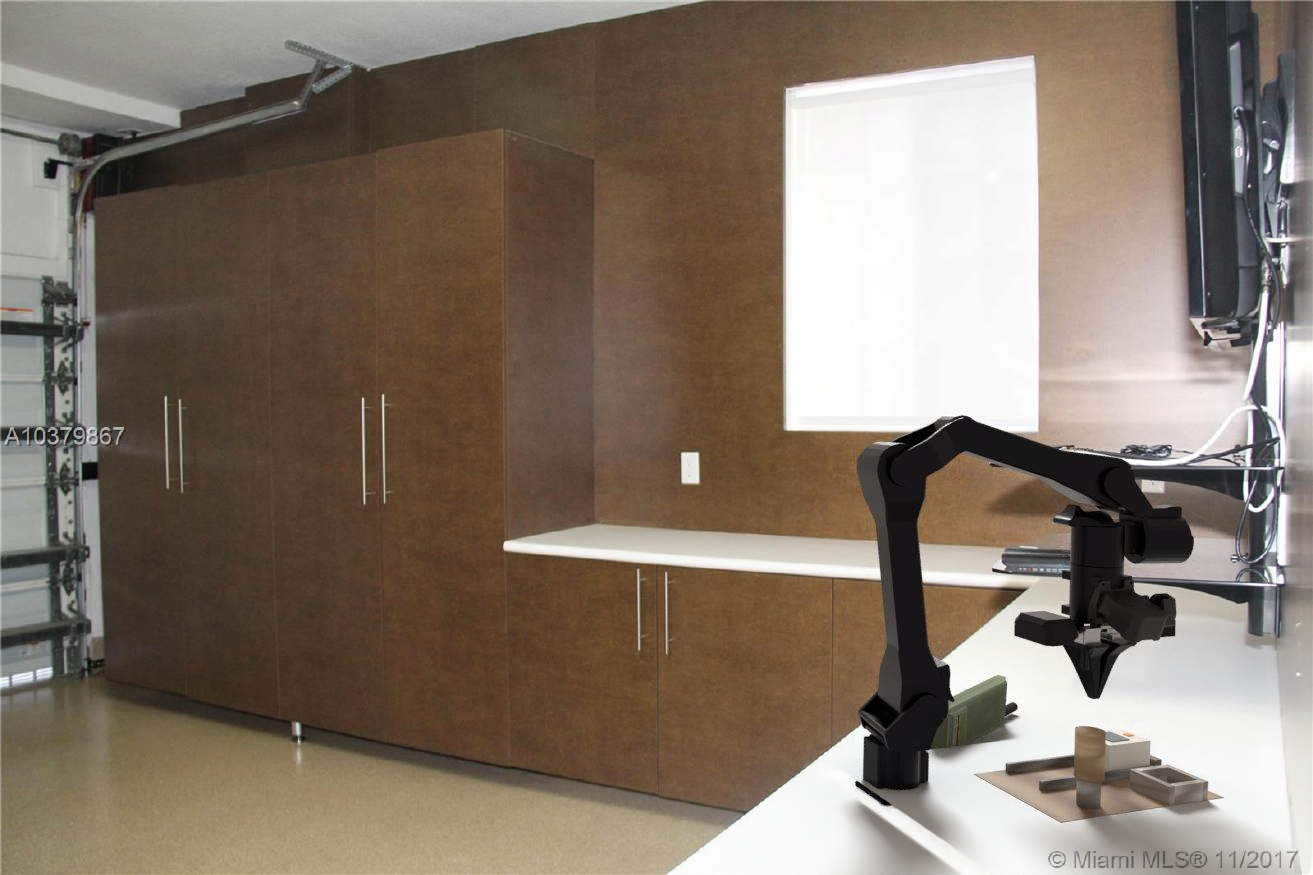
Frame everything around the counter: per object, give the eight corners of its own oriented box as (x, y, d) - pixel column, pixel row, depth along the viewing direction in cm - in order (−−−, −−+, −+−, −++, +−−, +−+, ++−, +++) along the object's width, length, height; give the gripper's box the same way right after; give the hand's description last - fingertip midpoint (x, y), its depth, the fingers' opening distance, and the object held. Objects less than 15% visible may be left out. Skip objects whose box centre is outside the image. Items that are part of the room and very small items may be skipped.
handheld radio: (923, 756, 125) (1001, 712, 144) (947, 763, 123) (1023, 718, 142) (926, 704, 125) (1004, 666, 144) (951, 710, 123) (1027, 672, 142)
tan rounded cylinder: (1087, 812, 104) (1089, 736, 104) (1066, 801, 107) (1068, 727, 106) (1110, 808, 105) (1112, 733, 105) (1089, 798, 108) (1091, 725, 107)
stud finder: (1108, 775, 114) (1109, 744, 114) (1079, 762, 118) (1080, 732, 118) (1149, 770, 116) (1150, 739, 116) (1119, 757, 120) (1119, 727, 120)
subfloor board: (1060, 836, 101) (1061, 802, 101) (973, 786, 114) (974, 756, 114) (1223, 810, 109) (1224, 779, 109) (1123, 766, 122) (1124, 738, 122)
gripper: (1083, 579, 104) (1080, 727, 105) (1218, 571, 110) (1214, 711, 111) (1012, 563, 115) (1009, 697, 115) (1138, 557, 121) (1135, 684, 121)
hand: (1093, 698), depth 115 cm, fingers closed
